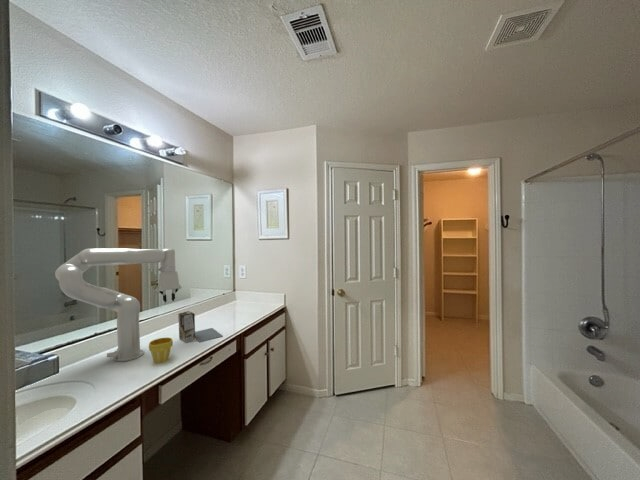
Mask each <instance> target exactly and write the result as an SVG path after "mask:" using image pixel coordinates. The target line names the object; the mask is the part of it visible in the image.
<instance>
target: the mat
mask: <svg viewBox="0 0 640 480" xmlns="http://www.w3.org/2000/svg"><path fill="white" fill-rule="evenodd" d="M223 337H224V335H222V334H221V333H220V332H219V331H217V330H216V329H214V328H213V327H211V328H205V329H202V330H197V331H195V341H197V343H204V342H207V341H212V340H215V339H219V338H223Z"/></svg>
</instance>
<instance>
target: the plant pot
mask: <svg viewBox="0 0 640 480" xmlns="http://www.w3.org/2000/svg"><path fill="white" fill-rule="evenodd" d="M173 343H174V342H173V338H172V337H159V338H155V339H152V340H151V341H150V342H149V344H148V350H149V352H150V353H151V357H152V361H153V363H154V364H162V363H165V362H167V361H169V359H170V355H171V350H172V347H173Z"/></svg>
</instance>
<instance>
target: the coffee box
mask: <svg viewBox="0 0 640 480" xmlns="http://www.w3.org/2000/svg"><path fill="white" fill-rule="evenodd" d="M177 315H178V316H177V317H178V338H179V340H180V341H181V342H183V343H184V344H185V343H189V342H190V343H191V342H195V341H196V339H195V332H196V326H195V325H196V324H195V323H196V321H195V318H196V317H195V313H194V312H192V311H184V312H180V313H177Z"/></svg>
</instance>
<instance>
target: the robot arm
mask: <svg viewBox="0 0 640 480" xmlns="http://www.w3.org/2000/svg"><path fill="white" fill-rule="evenodd" d="M156 263H157V264H158V263H160V268H157V271H158V272H159V273H158V283H157V284H158V285H157V287H156V289H155V290H154V291H155V292H157V293H159V294H161V295H162V300H163V302H165V303H166V302H167V300H168V299H167V294H166V291H168V290H171V301H172V302H175V300H176V293H177V292H178V291H180V290H181V289H182V286H181V284H180V281H179V280H180V279H179V274H178V271H176V251H175V249H174V248H161V249H160V248H150V249H149V248H148V249H147V248H145V249H144V248H143V249H142V248H141V249H140V248H128V247H127V248H126V247H125V248H124V247H116V248H115V247H112V248H111V247H109V248H108V247H107V248H106V247H105V248H103V247H97V248H95V247H94V248H93V247H92V248H84V249H82V250H81V251H80V252H79V253H77V254H76V255H74V256H73V257H71V258H69V260H67V261H66V262H64V263H62V264H61V265H60V266H58V268H57V269H55V273H54V276H55V278H56V280H57V281H58V286H59V288H60V290H61V291H62V294H64V295H65V296H67V297H68V298H71V299H73V300H76V301H80V302H83V303H85V304H89V305H92V306H94V307H97V308H100V309H107V310H111V311H114V312H116V313H117V317H116V318H117V319H116V330H117V331H116V332H117V333H116V334H117V335H116V337H117V338H116V339H117V349H116V350H114V351H113V352H109V353H106V358H110V359H111V358H114V361H116V362H118V363H119V362H121V363H122V362H128V361H132V360H136V359H138V358H140V357H142V356H143V355H144V354H145V353H144V350H143V349H141V340H140V339H141V338H140V334H141V333H140V311H141V304H140V301H139V300H138V299H137V298H136V297H135V296H132V295H129V294H126V293H122V292H120V291H116V290H114V289H110V288H107V287H104V286H103V287H101V286H98V285H94V284H92V283H89V282H87V281H85V280H84V278H83V275H84V274H83V273H85V272H86V271H87V270H89V269H90V268H91V267H93V266H94V267H95V266H97V267H98V266H116V265H117V266H119V265H122V266H123V265H134V264H136V265H137V264H156Z"/></svg>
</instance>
